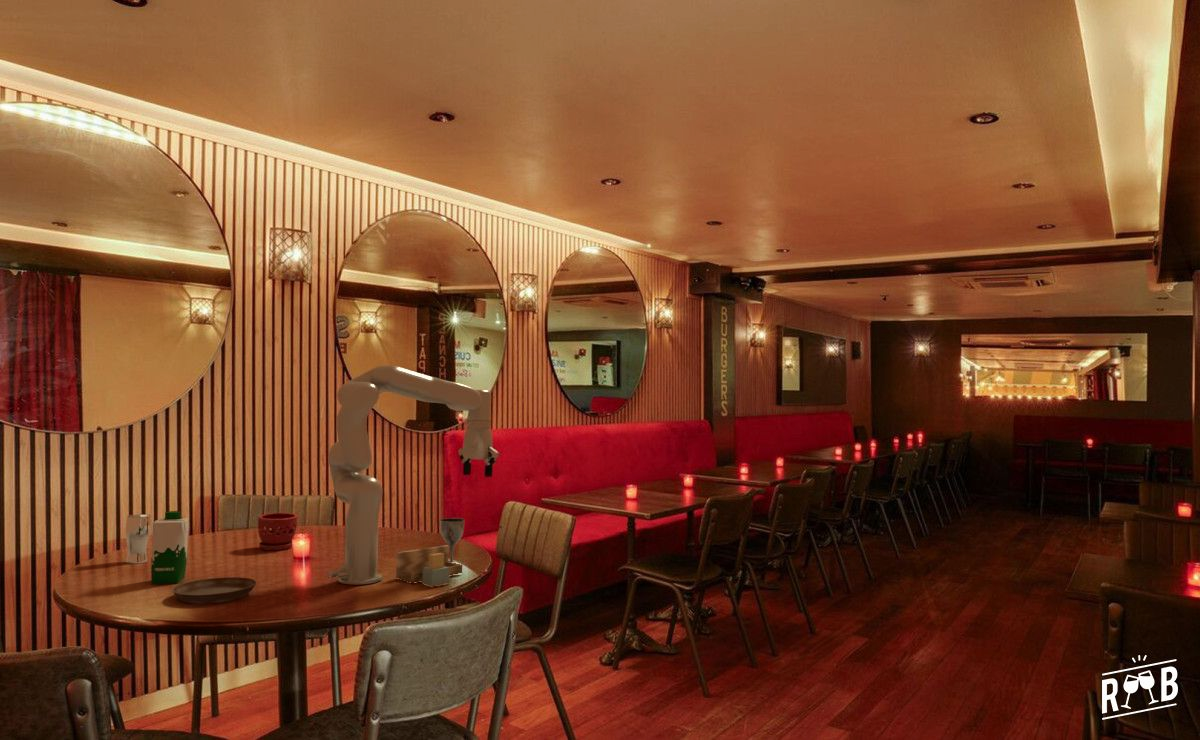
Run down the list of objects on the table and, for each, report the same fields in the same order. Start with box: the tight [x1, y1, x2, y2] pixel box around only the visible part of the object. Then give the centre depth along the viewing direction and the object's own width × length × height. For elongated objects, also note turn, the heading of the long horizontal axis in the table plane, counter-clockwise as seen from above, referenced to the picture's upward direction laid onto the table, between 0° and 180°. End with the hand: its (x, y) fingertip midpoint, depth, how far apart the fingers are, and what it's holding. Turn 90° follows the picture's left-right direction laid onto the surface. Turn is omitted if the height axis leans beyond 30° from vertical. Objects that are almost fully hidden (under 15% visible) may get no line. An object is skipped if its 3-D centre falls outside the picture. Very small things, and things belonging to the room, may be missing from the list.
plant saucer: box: [171, 576, 258, 605], centre depth 206 cm, size 21×21×3 cm
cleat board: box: [395, 544, 463, 584], centre depth 233 cm, size 18×9×8 cm, turn 136°
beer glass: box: [125, 513, 151, 565], centre depth 246 cm, size 7×7×15 cm
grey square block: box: [421, 553, 450, 586], centre depth 223 cm, size 6×5×9 cm
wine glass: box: [439, 517, 465, 562], centre depth 250 cm, size 8×8×15 cm
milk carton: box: [150, 510, 189, 585], centre depth 221 cm, size 9×9×20 cm
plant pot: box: [257, 512, 298, 551], centre depth 272 cm, size 13×13×12 cm
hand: (477, 475), depth 256 cm, fingers open, 9 cm apart
